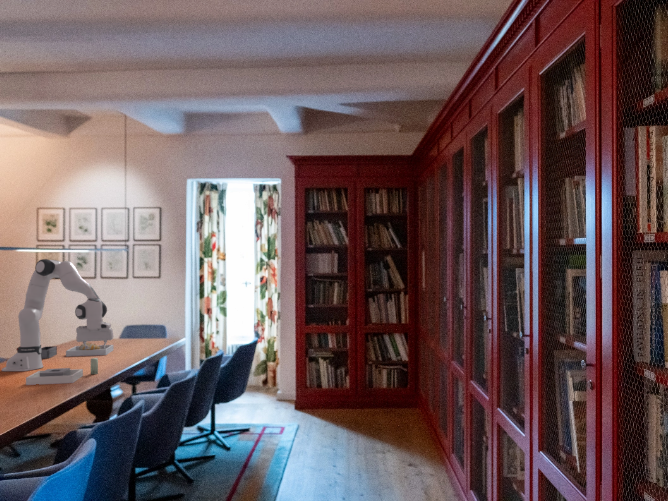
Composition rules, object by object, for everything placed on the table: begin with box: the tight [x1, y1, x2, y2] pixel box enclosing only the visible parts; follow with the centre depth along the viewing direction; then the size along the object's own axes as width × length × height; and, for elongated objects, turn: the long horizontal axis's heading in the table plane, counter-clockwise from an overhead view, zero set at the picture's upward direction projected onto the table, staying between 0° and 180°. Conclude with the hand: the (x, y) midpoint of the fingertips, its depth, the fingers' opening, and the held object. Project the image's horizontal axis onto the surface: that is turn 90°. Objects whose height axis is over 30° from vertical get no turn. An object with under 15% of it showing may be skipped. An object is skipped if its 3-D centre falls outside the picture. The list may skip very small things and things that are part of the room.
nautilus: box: [79, 342, 100, 350], centre depth 386 cm, size 8×21×15 cm
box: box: [25, 367, 84, 386], centre depth 299 cm, size 24×18×6 cm
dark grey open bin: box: [41, 345, 58, 360], centre depth 374 cm, size 8×16×6 cm, turn 9°
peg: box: [90, 357, 99, 376], centre depth 315 cm, size 4×4×9 cm
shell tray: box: [65, 344, 114, 357], centre depth 386 cm, size 27×21×4 cm
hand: (95, 348), depth 316 cm, fingers open, 8 cm apart
